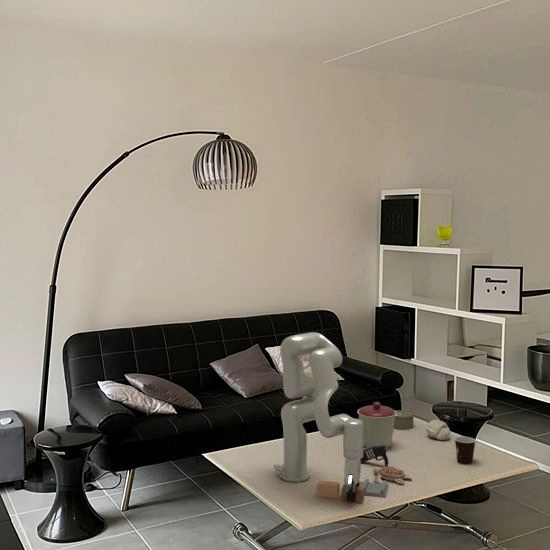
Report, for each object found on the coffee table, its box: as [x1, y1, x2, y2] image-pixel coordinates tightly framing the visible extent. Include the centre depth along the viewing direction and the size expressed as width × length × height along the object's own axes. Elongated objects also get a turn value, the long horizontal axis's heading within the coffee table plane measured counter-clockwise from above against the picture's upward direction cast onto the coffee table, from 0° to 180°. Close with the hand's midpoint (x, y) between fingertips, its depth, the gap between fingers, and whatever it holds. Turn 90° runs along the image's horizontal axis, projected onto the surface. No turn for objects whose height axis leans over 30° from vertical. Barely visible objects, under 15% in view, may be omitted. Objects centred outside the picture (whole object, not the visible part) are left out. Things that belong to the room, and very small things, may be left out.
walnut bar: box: [341, 484, 365, 504], centre depth 270 cm, size 8×4×5 cm, turn 74°
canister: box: [356, 401, 397, 449], centre depth 331 cm, size 18×18×21 cm
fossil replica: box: [425, 419, 451, 441], centre depth 343 cm, size 12×8×10 cm
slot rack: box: [340, 478, 390, 498], centre depth 280 cm, size 17×11×3 cm, turn 74°
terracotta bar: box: [316, 479, 340, 499], centre depth 275 cm, size 8×4×5 cm, turn 74°
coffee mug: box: [454, 436, 476, 466], centre depth 311 cm, size 12×9×10 cm
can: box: [393, 409, 415, 431], centre depth 362 cm, size 12×12×7 cm
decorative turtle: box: [372, 465, 413, 485], centre depth 292 cm, size 18×17×5 cm
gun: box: [361, 445, 389, 467], centre depth 308 cm, size 3×16×10 cm, turn 59°
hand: (353, 496), depth 270 cm, fingers open, 8 cm apart
